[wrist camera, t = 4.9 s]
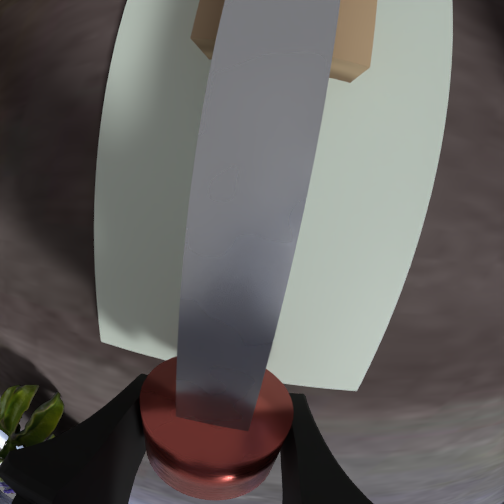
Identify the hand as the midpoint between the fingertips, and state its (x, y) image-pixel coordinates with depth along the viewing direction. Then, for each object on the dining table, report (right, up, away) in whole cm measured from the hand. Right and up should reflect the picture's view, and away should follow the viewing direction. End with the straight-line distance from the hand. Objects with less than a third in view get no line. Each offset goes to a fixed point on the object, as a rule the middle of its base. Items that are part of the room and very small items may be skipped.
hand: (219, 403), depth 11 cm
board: (+2, +13, -1) cm, 13 cm away
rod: (+2, +8, -2) cm, 9 cm away
